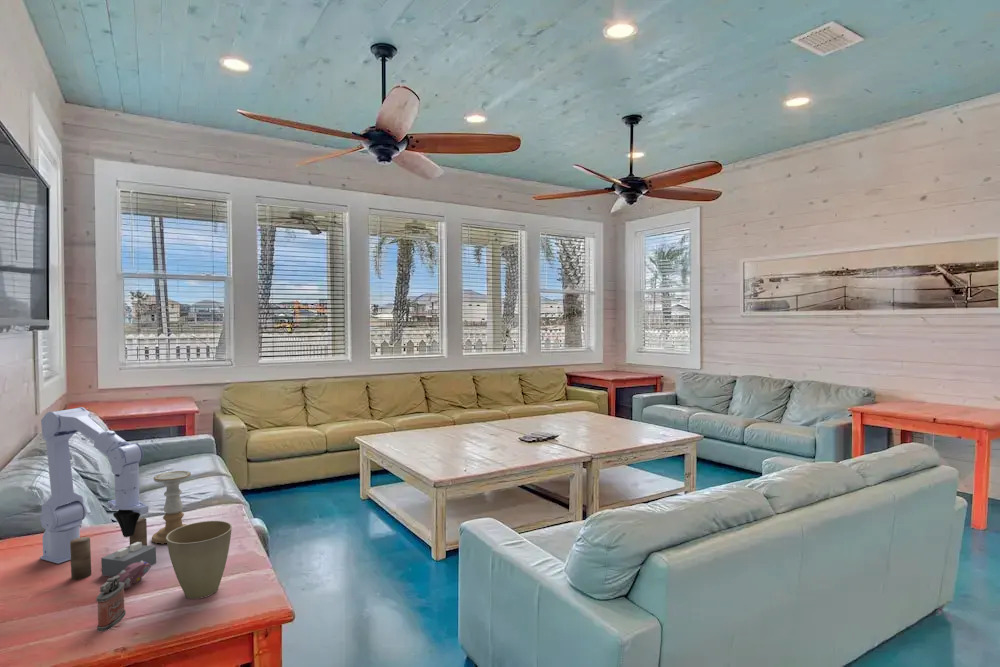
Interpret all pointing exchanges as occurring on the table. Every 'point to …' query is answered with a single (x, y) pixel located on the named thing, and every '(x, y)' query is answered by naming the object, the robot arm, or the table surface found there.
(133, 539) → the walnut post
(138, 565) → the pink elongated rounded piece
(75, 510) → the robot arm
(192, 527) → the plant pot
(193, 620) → the table surface
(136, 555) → the block
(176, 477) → the candle holder
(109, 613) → the lighter
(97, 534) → the table surface
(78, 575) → the walnut post
